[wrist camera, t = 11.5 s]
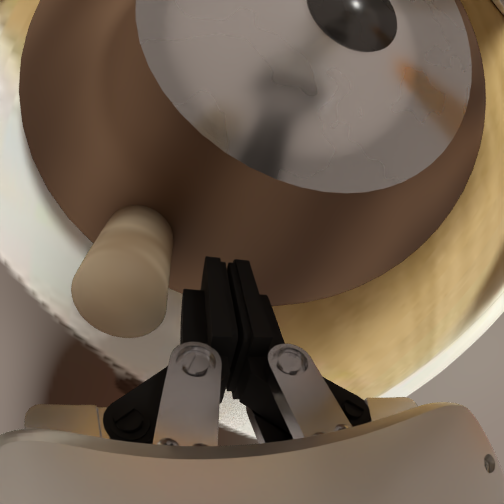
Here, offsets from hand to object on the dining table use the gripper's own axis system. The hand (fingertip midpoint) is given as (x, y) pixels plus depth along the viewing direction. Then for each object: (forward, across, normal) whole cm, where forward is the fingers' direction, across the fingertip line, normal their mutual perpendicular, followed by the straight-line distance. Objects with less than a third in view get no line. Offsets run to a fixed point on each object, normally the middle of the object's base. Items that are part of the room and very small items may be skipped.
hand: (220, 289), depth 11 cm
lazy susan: (+4, -2, -10) cm, 11 cm away
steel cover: (+2, -2, -11) cm, 11 cm away
